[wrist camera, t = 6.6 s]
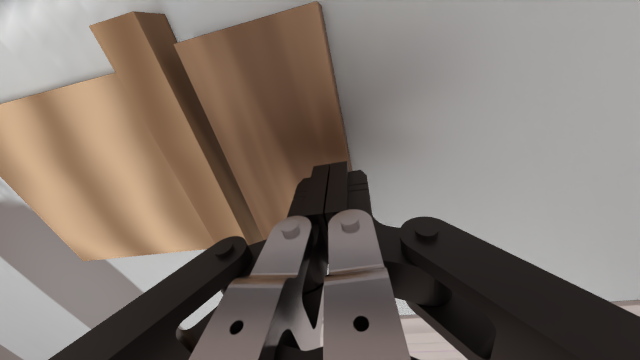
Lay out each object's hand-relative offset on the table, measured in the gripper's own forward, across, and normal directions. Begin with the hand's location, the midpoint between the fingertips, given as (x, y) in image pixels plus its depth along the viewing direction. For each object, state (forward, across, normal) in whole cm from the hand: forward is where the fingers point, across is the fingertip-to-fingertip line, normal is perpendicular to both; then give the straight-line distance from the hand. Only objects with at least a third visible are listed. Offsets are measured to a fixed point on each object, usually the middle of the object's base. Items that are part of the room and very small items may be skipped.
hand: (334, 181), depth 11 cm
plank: (+4, 0, 0) cm, 4 cm away
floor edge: (+5, +16, 0) cm, 17 cm away
